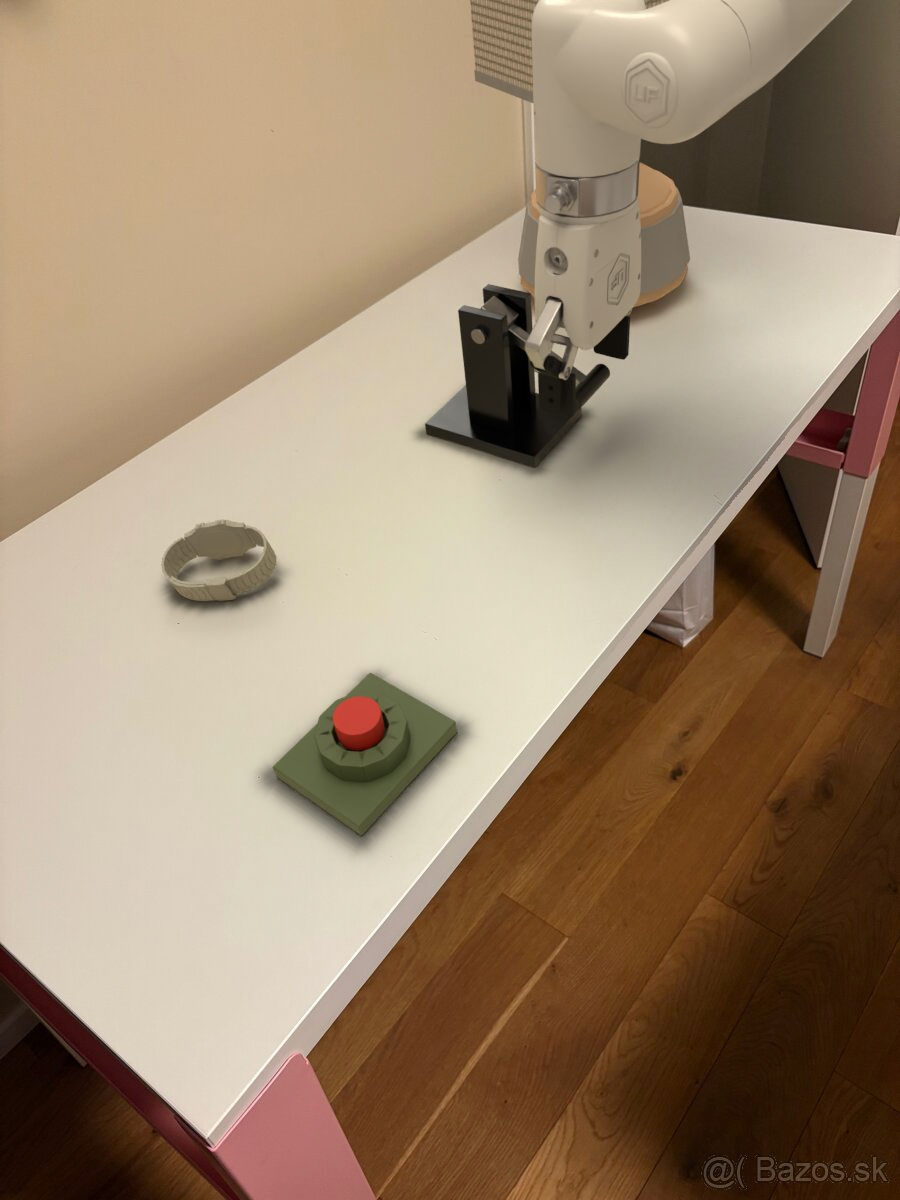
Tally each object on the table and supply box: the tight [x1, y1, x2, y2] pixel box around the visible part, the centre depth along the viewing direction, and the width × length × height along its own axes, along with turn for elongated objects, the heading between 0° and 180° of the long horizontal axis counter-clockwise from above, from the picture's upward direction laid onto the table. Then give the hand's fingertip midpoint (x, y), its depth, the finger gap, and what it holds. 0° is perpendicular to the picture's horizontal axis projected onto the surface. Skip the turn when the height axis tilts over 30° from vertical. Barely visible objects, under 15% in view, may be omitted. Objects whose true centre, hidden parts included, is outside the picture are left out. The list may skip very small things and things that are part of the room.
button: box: [333, 696, 385, 751], centre depth 63 cm, size 3×3×2 cm
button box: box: [272, 672, 458, 836], centre depth 64 cm, size 10×8×3 cm
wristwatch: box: [160, 519, 278, 602], centre depth 77 cm, size 9×6×5 cm
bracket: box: [424, 283, 583, 468], centre depth 86 cm, size 12×9×13 cm
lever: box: [479, 296, 611, 411], centre depth 83 cm, size 12×6×2 cm, turn 56°
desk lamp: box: [469, 0, 691, 308], centre depth 95 cm, size 22×19×37 cm
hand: (584, 382), depth 82 cm, fingers open, 9 cm apart
